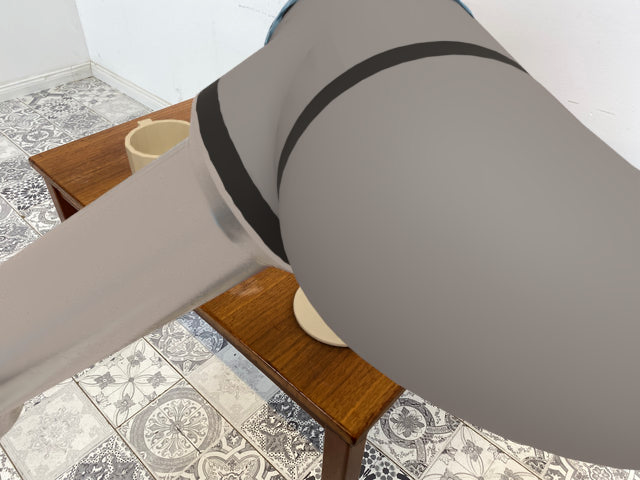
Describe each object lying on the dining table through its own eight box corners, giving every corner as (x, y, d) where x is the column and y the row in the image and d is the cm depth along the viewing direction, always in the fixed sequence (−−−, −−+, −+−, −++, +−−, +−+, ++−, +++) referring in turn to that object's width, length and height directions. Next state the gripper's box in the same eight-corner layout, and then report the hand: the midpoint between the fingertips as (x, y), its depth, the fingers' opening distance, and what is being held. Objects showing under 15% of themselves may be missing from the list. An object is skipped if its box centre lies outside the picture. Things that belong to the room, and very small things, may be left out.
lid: (334, 367, 63) (339, 317, 57) (274, 301, 71) (272, 250, 65) (411, 318, 70) (423, 267, 63) (348, 262, 78) (353, 212, 71)
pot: (161, 222, 83) (150, 174, 77) (119, 171, 94) (107, 125, 87) (228, 196, 89) (223, 149, 83) (182, 151, 100) (175, 107, 93)
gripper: (632, 420, 41) (389, 321, 48) (641, 243, 58) (460, 189, 65) (679, 366, 36) (399, 264, 43) (674, 189, 53) (474, 137, 60)
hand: (435, 219), depth 54 cm, fingers open, 13 cm apart
